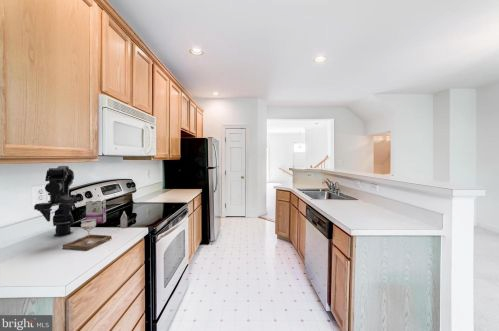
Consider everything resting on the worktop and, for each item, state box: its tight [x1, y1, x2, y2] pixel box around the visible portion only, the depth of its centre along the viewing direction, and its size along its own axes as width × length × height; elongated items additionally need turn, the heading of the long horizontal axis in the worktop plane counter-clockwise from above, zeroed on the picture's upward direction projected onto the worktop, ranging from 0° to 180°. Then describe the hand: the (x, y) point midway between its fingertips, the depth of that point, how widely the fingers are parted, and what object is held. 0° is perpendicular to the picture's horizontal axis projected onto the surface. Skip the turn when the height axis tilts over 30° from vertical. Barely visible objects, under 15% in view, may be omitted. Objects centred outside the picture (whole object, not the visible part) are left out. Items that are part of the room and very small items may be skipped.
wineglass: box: [80, 219, 97, 244], centre depth 117 cm, size 7×7×12 cm
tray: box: [62, 234, 112, 251], centre depth 117 cm, size 16×14×2 cm
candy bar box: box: [85, 199, 107, 225], centre depth 155 cm, size 11×5×16 cm, turn 102°
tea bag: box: [120, 210, 128, 229], centre depth 148 cm, size 4×7×10 cm, turn 28°
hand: (57, 219), depth 118 cm, fingers open, 9 cm apart
